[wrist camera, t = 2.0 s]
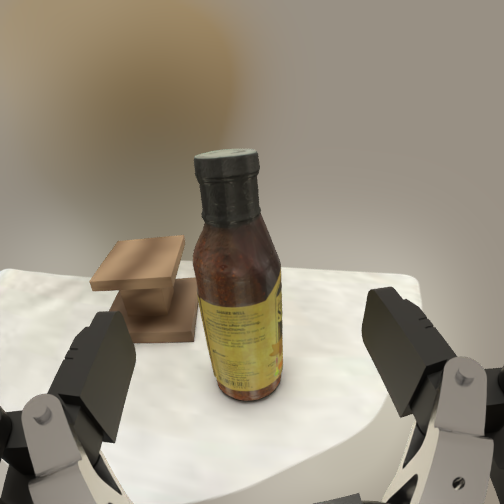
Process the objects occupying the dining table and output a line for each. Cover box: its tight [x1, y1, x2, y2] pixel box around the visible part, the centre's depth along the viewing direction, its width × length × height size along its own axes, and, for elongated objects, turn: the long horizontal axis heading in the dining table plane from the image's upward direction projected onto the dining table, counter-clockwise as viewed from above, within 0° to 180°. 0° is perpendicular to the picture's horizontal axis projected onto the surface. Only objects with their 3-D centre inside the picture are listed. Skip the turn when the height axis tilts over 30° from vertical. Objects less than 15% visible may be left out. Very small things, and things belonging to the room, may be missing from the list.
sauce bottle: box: [193, 149, 283, 401], centre depth 22 cm, size 7×6×20 cm
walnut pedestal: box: [89, 235, 198, 343], centre depth 34 cm, size 11×11×8 cm
